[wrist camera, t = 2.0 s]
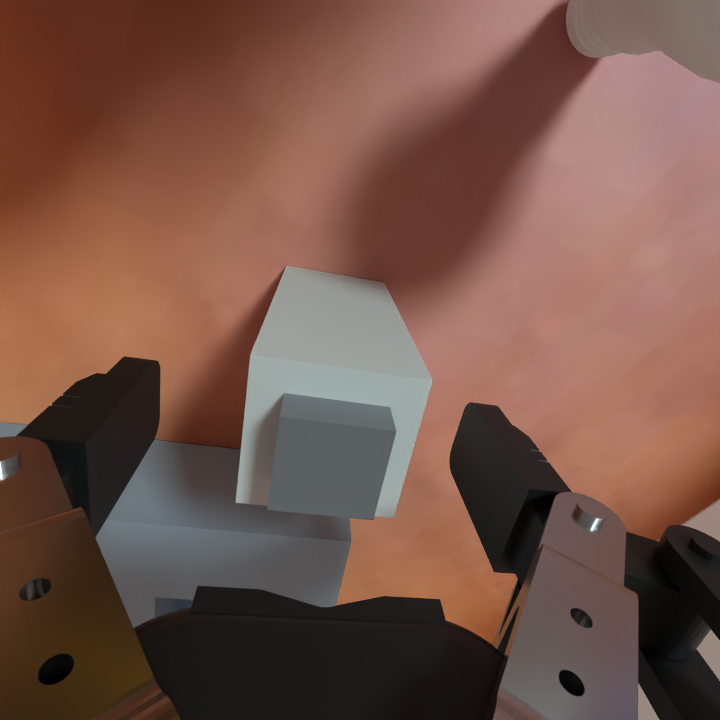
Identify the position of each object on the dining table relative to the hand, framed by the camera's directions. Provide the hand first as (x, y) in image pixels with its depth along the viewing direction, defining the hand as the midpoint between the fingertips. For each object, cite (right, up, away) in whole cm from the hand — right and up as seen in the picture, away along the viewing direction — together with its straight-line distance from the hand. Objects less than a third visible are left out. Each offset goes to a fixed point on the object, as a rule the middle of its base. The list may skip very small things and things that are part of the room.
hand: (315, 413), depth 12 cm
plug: (0, +3, +7) cm, 8 cm away
